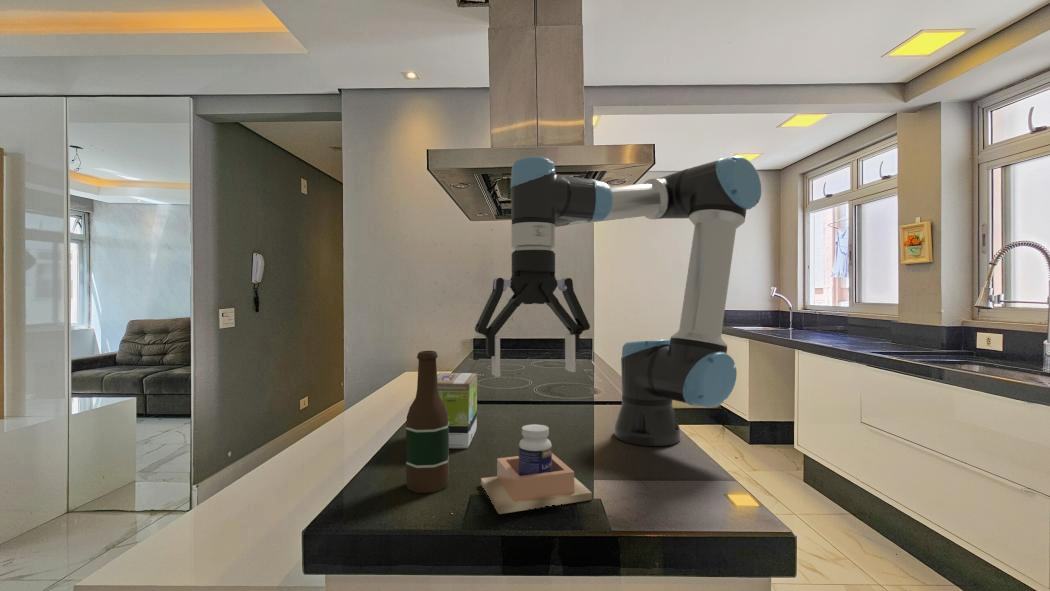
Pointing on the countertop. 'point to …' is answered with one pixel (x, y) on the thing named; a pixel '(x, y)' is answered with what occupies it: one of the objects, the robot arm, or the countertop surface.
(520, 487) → the well
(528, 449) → the pill bottle
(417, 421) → the beer bottle
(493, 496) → the board
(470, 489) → the countertop surface
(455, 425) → the tea box
